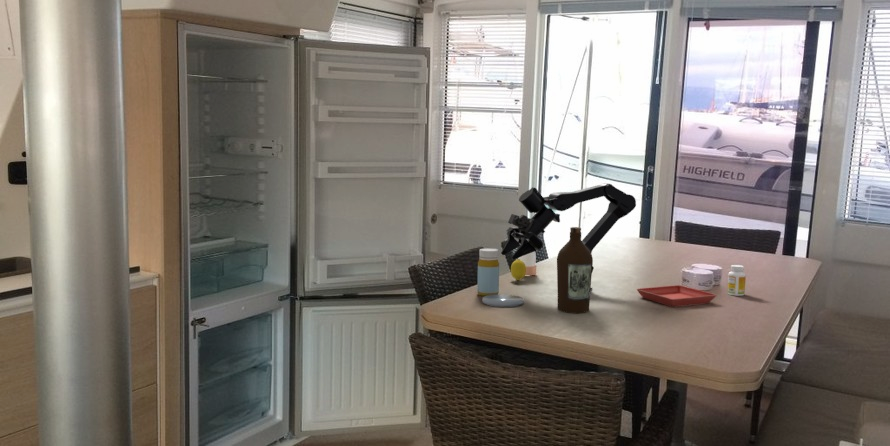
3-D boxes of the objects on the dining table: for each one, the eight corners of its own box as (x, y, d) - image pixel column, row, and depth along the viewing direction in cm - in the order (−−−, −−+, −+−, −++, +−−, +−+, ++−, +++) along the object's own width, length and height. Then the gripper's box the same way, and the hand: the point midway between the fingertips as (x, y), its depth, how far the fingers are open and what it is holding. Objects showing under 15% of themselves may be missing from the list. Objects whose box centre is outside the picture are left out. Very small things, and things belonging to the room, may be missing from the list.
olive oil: (550, 306, 232) (552, 225, 229) (582, 305, 235) (585, 225, 232) (563, 314, 222) (565, 230, 219) (596, 313, 224) (599, 229, 221)
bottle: (476, 292, 252) (476, 248, 250) (496, 292, 252) (497, 248, 251) (478, 297, 245) (479, 251, 243) (500, 296, 246) (501, 251, 244)
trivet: (532, 302, 237) (532, 298, 237) (505, 309, 228) (505, 305, 228) (501, 296, 247) (501, 292, 246) (473, 302, 238) (474, 298, 237)
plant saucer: (634, 298, 248) (635, 288, 248) (678, 294, 255) (679, 284, 255) (671, 309, 231) (672, 299, 231) (717, 305, 239) (718, 294, 238)
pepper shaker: (514, 275, 284) (515, 224, 282) (519, 272, 290) (521, 222, 288) (533, 277, 281) (534, 225, 279) (538, 273, 288) (539, 223, 286)
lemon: (525, 282, 270) (525, 260, 269) (509, 281, 271) (510, 259, 270) (526, 279, 275) (527, 258, 274) (511, 279, 276) (511, 257, 276)
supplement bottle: (744, 293, 255) (745, 265, 254) (744, 296, 250) (746, 267, 249) (727, 292, 257) (728, 264, 256) (727, 295, 252) (729, 266, 251)
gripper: (512, 203, 258) (481, 236, 256) (535, 208, 240) (501, 243, 238) (533, 225, 261) (502, 258, 259) (556, 232, 243) (524, 267, 241)
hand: (507, 256), depth 249 cm, fingers open, 9 cm apart
